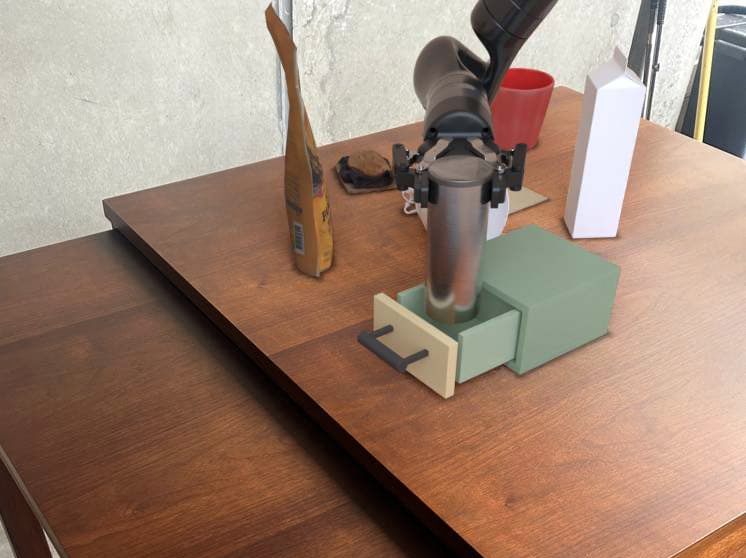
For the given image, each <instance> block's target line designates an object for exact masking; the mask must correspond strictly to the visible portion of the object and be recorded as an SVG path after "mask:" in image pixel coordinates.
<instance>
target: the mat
mask: <svg viewBox="0 0 746 558" xmlns="http://www.w3.org/2000/svg"><path fill="white" fill-rule="evenodd" d="M507 191H508V197H509V212H508V215H510V214H511V215H512V214H513V213H516V212H519V211H521V210H525V209H526V208H530V207H532V206H534V205H537V204H540V203H542V202H546V201H548V200H549V199H548V197H547V196H545V195H543V194H540V193H538V192H536V191H534V190H532V189H530V188H528V187H525V186H523V185H522V189H521V190H520V191H511V190H509V188H507Z"/></svg>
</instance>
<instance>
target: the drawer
mask: <svg viewBox="0 0 746 558" xmlns="http://www.w3.org/2000/svg"><path fill="white" fill-rule="evenodd" d="M424 287H425V282H422V283H420V284H418V285H414V286H412V287H409V288H407V289H404V290H402V291H400V292H397V293H396V300H394V299H393V298H392V297H390V296H388V295H387V294H385V293H384V292H380V293H377V294H375V295H373V331H371V332H368V331H366V330H362V331H360V332H359V333H358V334H357V338H356V341H357V343H358V344H360V345H361V346H363V347H364V348H365V349H367V350H368V351H369V352H371V353H372V354H373V355H374V356H375V357H377V358H379V359H380V360H382V361H383V362H384V363H385V364H387V365H388V366H390V367H391V368H393V369H394V371H396V372H398V373H403V372H405V371H407V372H408V373H410V374H411V375H412V376H414V377H415V378H416V379H418V380H419V381H420V382H422V383H423V384H425V385H426V386H427V387H429V388H430V389H431V390H433V391H434V392H436V393H437V394H438V395H439V396H441V397H442V398H444V399H445V400H446V399H449V398H450V397H452V396H454V395H455V385H456V383H458V384H459V385H460V384H462V383H465V382H466V381H469V380H471V379H473V378H475V377H478V376H479V375H481V374H484V373H486V372H488V371H490V370H492V369H495V368H497V367H499V366H502V365H504V364H503V363H505V362H507V361H510V360H512V359H514V358H516V356H517V349H518V341H519V334H520V327H521V319H522V311H520V310H519V309H517V308H515V307H514V306H512V305H510V304H509V303H507V302H505V301H503V300H502V299H500V298H498V297H497V296H495V295H493V294H492V293H490V292H488V291H487V290H485V289H483V288H482V294H481V306H480V312H479V314H478V316H477V317H476V318H474V319H473V320H471V321H468V322H465V323H460V324H446V323H440V322H437V321H434V320H432V319H431V318H429V317H428V316H427V315H426V314H425V312H424Z"/></svg>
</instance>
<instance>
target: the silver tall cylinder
mask: <svg viewBox="0 0 746 558" xmlns="http://www.w3.org/2000/svg"><path fill="white" fill-rule="evenodd" d="M493 172H494V168H493V165H492V164H491V163H490V162H488V161H487V160H485V159H482V158H479V157H475V156H467V155H454V156H446V157H442V158H439V159H436V160H434V161H433V162H431V163H430V165H429V166H428V177H429V188H428V208H427V231H426V232H425V233H426V238H425V260H424V261H425V263H424V283H425V287H424V312H425V314H426V315H427V316H428V317H429V318H431V319H432V320H434V321H437V322H440V323H446V324H460V323H465V322H468V321H471V320H473V319H474V318H476V317H477V316H478V314H479V312H480V306H481V294H482V283H483V272H484V261H485V250H486V239H487V227H488V216H489V205H490V193H491V182H492V177H493Z"/></svg>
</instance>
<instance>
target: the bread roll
mask: <svg viewBox="0 0 746 558" xmlns="http://www.w3.org/2000/svg"><path fill="white" fill-rule="evenodd" d="M335 169H336V173H337V177H338V178H339V180H340V182H341V184H342V186H343V187H344V188H345V190H346V191H347V192H348V194H356V195H357V194H363V193H371V192H382V191H386V190H394V189H396V185H395V180H394V176H393V172H392V165H390V161H389V159H388V158H386V157H384V156H383V155H381V153H380V152H378V151H375V150H373V149H363V150H356V151H354V152H352V153H350V154H349V155H345V156H342V157H340V159H339V160H338V161H337V162H336V163H335Z"/></svg>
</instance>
